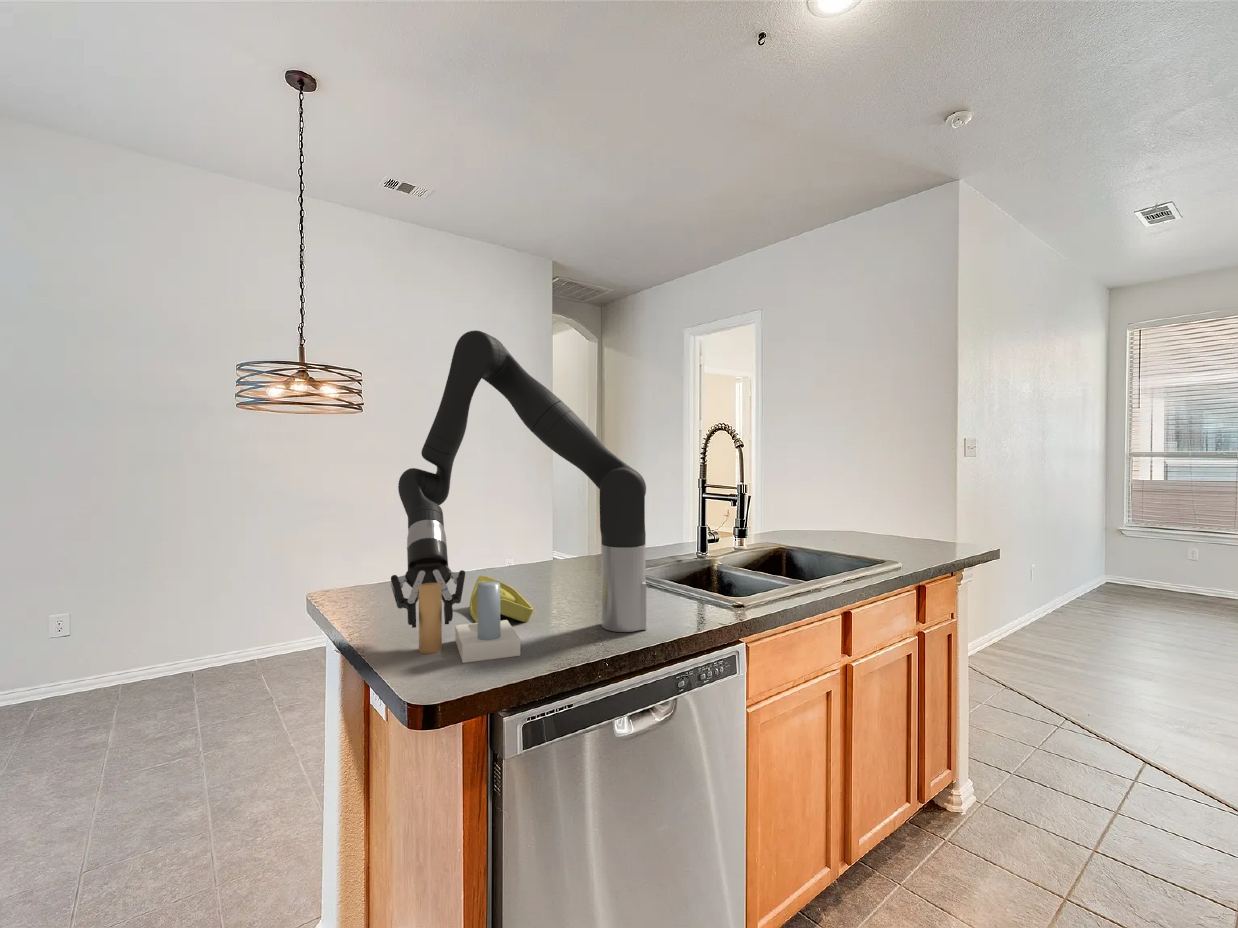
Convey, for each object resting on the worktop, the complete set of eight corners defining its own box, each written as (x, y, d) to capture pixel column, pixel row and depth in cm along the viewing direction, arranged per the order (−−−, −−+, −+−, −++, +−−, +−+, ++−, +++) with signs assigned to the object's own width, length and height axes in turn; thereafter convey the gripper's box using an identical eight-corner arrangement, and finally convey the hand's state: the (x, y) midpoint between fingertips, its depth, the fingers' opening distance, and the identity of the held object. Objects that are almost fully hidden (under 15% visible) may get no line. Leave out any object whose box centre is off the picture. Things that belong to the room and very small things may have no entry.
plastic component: (536, 611, 125) (495, 596, 121) (521, 643, 124) (479, 629, 120) (512, 586, 143) (475, 572, 138) (499, 614, 142) (461, 600, 138)
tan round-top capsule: (444, 646, 109) (444, 582, 109) (438, 653, 105) (437, 587, 105) (423, 646, 109) (422, 582, 108) (415, 653, 105) (415, 587, 104)
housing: (455, 640, 112) (455, 575, 112) (507, 634, 116) (506, 571, 115) (462, 662, 100) (462, 589, 100) (520, 655, 103) (520, 585, 103)
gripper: (388, 538, 111) (388, 617, 100) (465, 534, 116) (473, 609, 105) (388, 561, 116) (388, 638, 105) (462, 556, 121) (469, 630, 110)
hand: (430, 623), depth 105 cm, fingers open, 5 cm apart
